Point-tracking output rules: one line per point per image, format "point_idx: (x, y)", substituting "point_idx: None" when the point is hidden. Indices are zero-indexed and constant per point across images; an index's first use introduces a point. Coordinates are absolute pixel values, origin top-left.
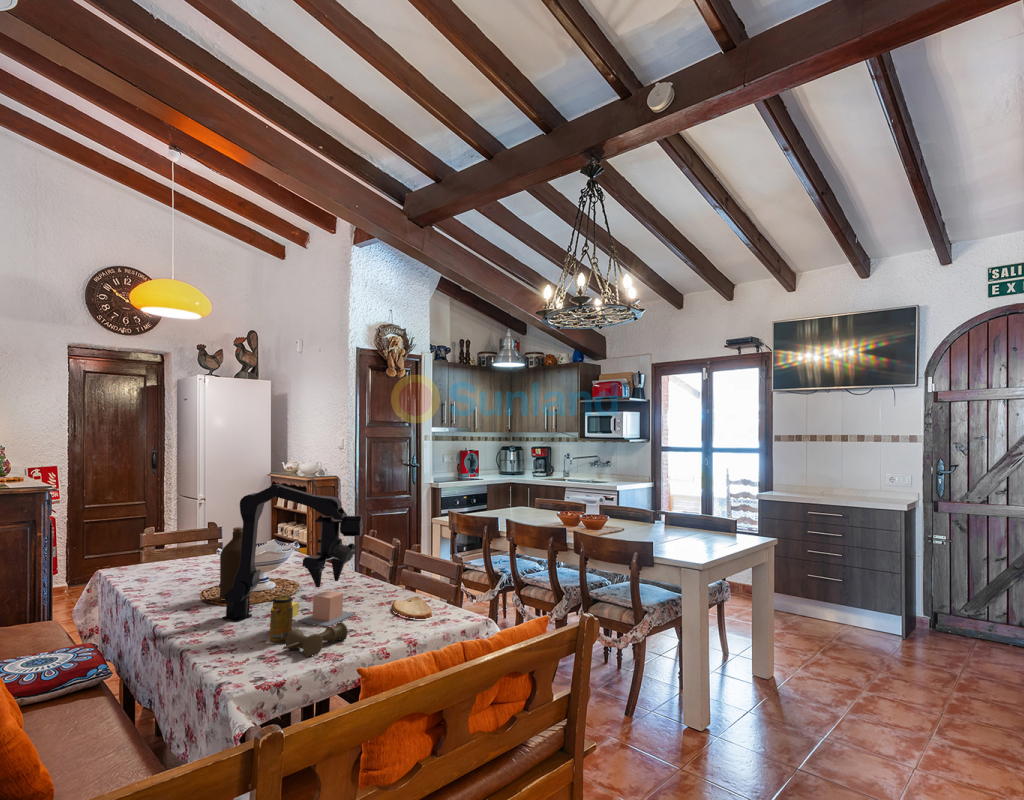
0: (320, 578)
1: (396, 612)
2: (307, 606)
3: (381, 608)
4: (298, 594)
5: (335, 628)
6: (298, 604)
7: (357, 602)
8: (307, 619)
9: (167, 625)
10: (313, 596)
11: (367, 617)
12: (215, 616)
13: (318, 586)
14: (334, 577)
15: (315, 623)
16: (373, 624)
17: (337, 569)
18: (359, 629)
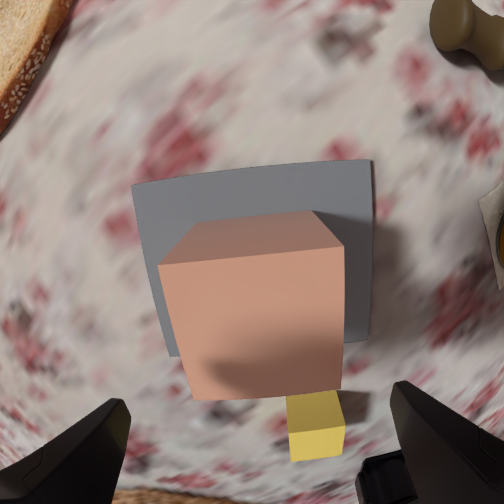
0: (453, 431)
1: (46, 41)
2: (189, 426)
3: (19, 164)
4: (137, 480)
5: (494, 20)
6: (290, 427)
7: (34, 308)
8: None
9: None
10: (340, 384)
11: (132, 106)
12: None
13: (410, 388)
14: (124, 442)
15: (371, 245)
16: (205, 9)
17: (79, 487)
18: (302, 15)
